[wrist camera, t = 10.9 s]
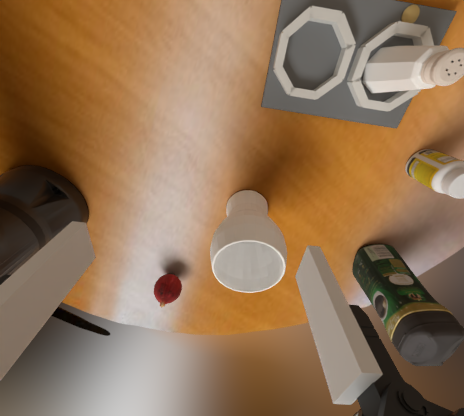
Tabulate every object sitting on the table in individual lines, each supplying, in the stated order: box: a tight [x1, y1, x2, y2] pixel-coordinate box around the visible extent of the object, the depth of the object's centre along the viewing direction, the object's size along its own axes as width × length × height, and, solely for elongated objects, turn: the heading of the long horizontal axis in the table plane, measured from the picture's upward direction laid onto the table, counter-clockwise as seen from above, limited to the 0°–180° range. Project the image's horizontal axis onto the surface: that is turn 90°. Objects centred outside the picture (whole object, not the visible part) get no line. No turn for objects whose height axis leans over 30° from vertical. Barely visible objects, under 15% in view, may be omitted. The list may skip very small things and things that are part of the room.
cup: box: [210, 190, 287, 293], centre depth 34 cm, size 11×11×15 cm
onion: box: [154, 274, 182, 307], centre depth 48 cm, size 6×6×8 cm
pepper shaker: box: [363, 46, 464, 93], centre depth 24 cm, size 5×5×11 cm
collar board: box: [261, 0, 457, 128], centre depth 28 cm, size 20×13×2 cm, turn 82°
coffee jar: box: [353, 244, 464, 366], centre depth 38 cm, size 10×8×19 cm
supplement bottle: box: [405, 149, 464, 199], centre depth 31 cm, size 5×5×8 cm
